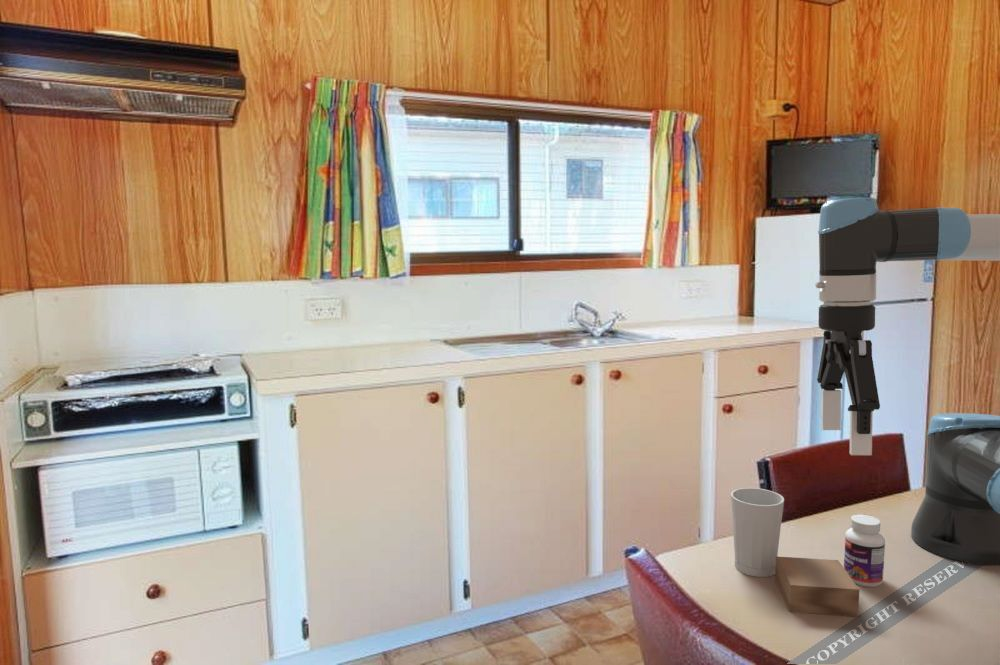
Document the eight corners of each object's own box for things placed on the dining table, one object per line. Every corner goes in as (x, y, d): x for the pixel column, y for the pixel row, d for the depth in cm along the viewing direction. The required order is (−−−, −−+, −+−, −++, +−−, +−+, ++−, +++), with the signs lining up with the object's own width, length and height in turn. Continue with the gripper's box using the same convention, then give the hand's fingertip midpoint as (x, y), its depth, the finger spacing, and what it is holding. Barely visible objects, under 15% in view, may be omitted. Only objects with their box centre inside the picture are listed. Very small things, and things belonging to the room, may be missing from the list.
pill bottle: (835, 575, 103) (837, 516, 102) (859, 568, 106) (862, 510, 104) (866, 590, 98) (869, 529, 97) (891, 583, 101) (894, 522, 100)
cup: (787, 581, 102) (789, 507, 100) (733, 577, 103) (734, 504, 102) (776, 558, 110) (778, 489, 108) (726, 554, 111) (727, 486, 110)
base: (837, 584, 100) (838, 560, 100) (858, 616, 92) (859, 589, 91) (775, 580, 102) (775, 556, 102) (789, 611, 93) (790, 585, 93)
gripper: (798, 298, 111) (797, 420, 113) (847, 311, 87) (845, 466, 89) (845, 297, 110) (844, 420, 112) (909, 309, 85) (906, 467, 88)
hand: (844, 441), depth 100 cm, fingers open, 13 cm apart
